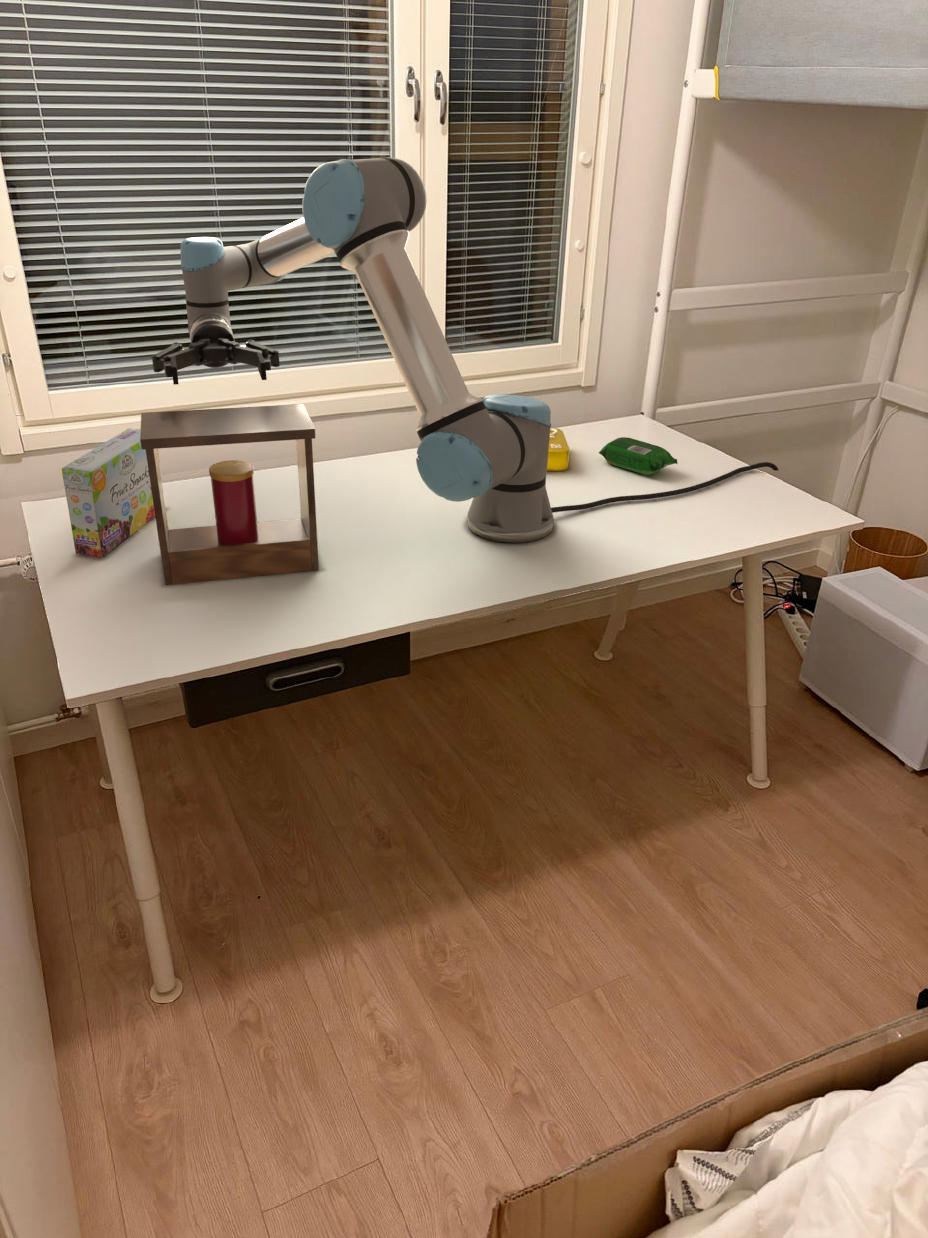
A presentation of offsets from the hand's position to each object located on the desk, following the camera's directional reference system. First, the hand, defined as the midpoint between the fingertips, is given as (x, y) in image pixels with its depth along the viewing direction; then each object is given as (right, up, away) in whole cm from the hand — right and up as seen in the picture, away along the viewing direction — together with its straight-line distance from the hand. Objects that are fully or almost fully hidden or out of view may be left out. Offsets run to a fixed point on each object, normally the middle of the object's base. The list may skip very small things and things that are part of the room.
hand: (219, 373), depth 147 cm
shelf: (+2, -29, +5) cm, 30 cm away
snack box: (-20, -24, +14) cm, 34 cm away
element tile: (+52, -5, +51) cm, 73 cm away
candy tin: (+2, -26, +3) cm, 26 cm away
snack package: (+74, -7, +47) cm, 88 cm away
